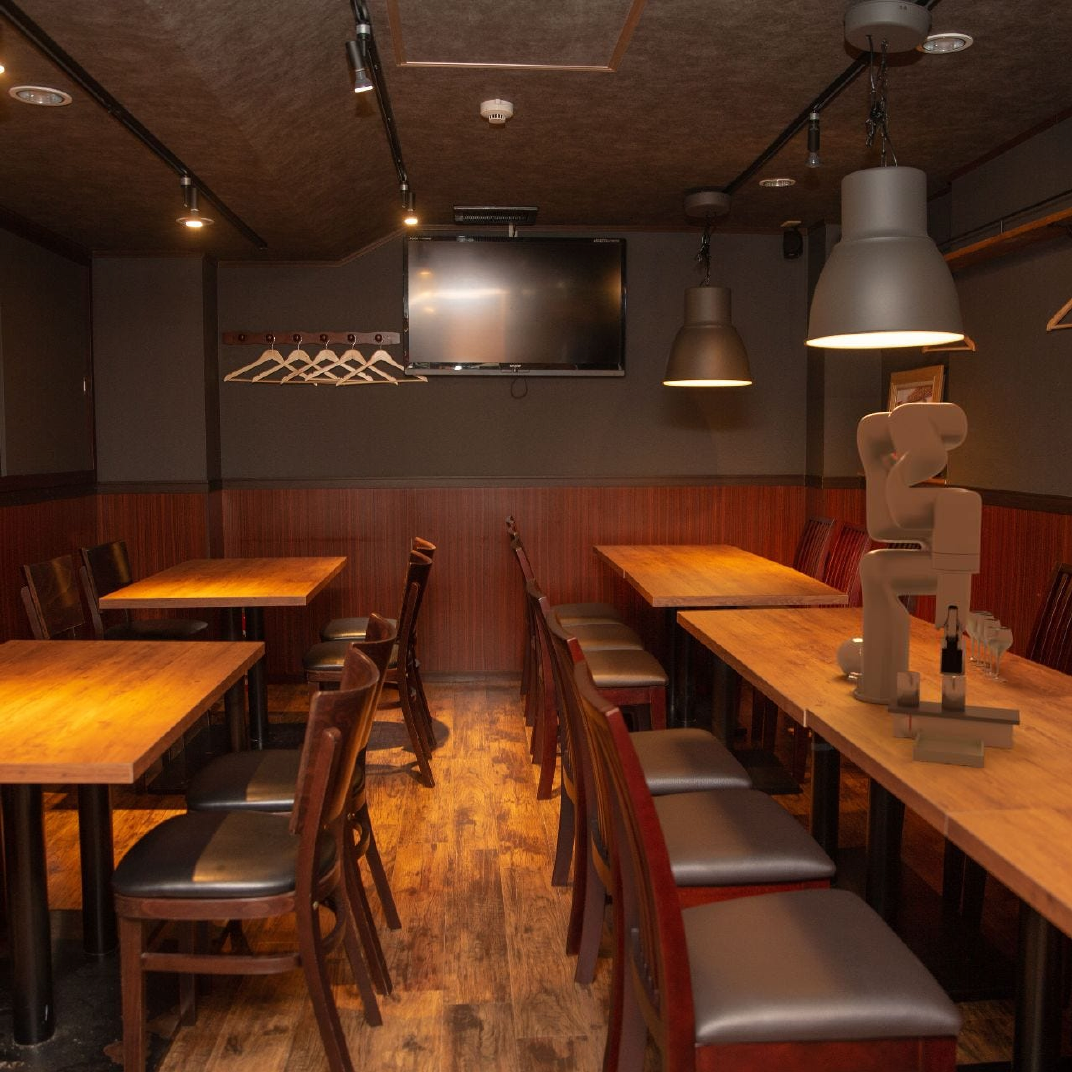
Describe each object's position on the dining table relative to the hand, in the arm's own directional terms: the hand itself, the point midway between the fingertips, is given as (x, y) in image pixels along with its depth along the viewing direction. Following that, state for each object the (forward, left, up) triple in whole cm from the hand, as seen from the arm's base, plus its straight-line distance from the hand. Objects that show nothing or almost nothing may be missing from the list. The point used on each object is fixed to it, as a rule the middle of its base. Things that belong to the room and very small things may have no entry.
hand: (952, 668), depth 180 cm
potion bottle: (-47, +42, -15) cm, 65 cm away
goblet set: (-36, +71, -15) cm, 81 cm away
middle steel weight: (-6, +11, -10) cm, 16 cm away
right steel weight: (0, 0, -1) cm, 1 cm away
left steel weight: (-13, +7, -10) cm, 18 cm away
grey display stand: (-6, +11, -15) cm, 20 cm away
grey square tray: (0, 0, -15) cm, 15 cm away
